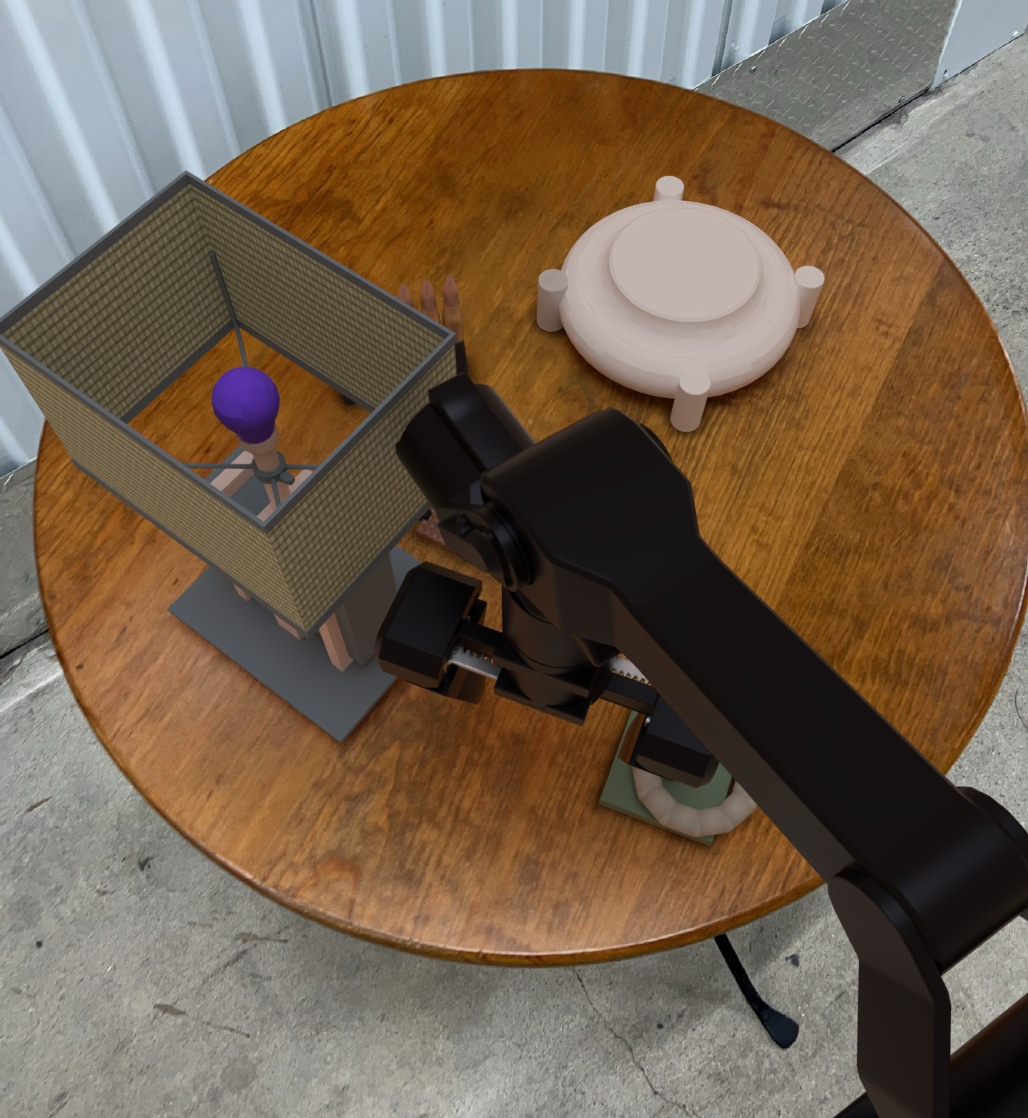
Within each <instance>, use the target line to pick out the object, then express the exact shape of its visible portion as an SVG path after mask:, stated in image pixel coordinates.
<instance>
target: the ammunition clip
mask: <svg viewBox="0 0 1028 1118" xmlns="http://www.w3.org/2000/svg"><path fill="white" fill-rule="evenodd" d="M442 297H443V298H442V299H443V300H442V301H443V303H442V306H443V307H442V312H441V316H440V313H439V309H438V304H437V297H436V294H435V290H434V287H433V285H432V282H430V280H429V279H428V278H426V279H424V281H423V283H422V285H421V289H420V312H421V313H423V314H425V315H426V316H428V317H430V318H431V319H433V320H435V321H436V322H438V323H439V324H441V325H443V326H444V327H446V328H448V329H449V330H451V331H453V332H454V333H456V341H457V343H456V344H455V356H456V371H457V375H458V374H460V373H462V372H465V373H466V374H467V375H468V377H469V378H470V374H469V366H468V359H467V358H468V357H467V351H466V345H465V335H464V320H463V312H462V308H461V303H460V297H459V291H458V286H457V283H456V281H455V279H454V277H453V276H452V275H451V274H448V275H447V276H446V278H445V281H444V284H443V293H442ZM397 298H398V299H400V300H401V301H403V302H405V303H406V304H408V305H410V306H411V307H413V308H415V307H414V300H413V298H412V293H411V291H410V290H409V287H408V286H407V285H406V284H405V283H401V285H400V286H399V288H398V293H397ZM342 399H343V403H344V405H346V406H351V405H355V404H357V403H355V402H354V401H352V400H351V399H349V398H347V397H346V396H344V395H343V394H342Z"/></svg>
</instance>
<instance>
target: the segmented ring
mask: <svg viewBox="0 0 1028 1118" xmlns="http://www.w3.org/2000/svg"><path fill="white" fill-rule="evenodd" d="M631 767H632V766H631ZM632 772H633V777H634V782H635V786H636V791H637V795H638V798H639V799H640V801H641V802H642V803H643V804H644V805H645V807H646V808H647V809H648V810H649V811H650V812H651V813H652V815H653V816H654V817H655V818H656V819H657V820H658V822H659V823H660V824H662V825H663V826H665V827H668V828H671V829H673V830H676V831H679V832H681V833H684V834H687V835H689V836H692V837H703V836H710V835H715V836H717V835H722V834H728V833H730V832H732V831H733V830H734V829H736V828H737V827H738V826H739V825H740V824H742V823H743V822H744V821H745V820H746V819H747V818H748V817H749V816H751V815H752V814H753V813H754V812H755V810H756V809H757V807H758V805H757V804H756V803H755V802H754V801H753V799H752V798H751V797H750V796H749V795H748V794H747V793H746V792H745V790H744V789H743V788H742V787H741V786H740V785H739V784H738V782H737V781H736V780H735V781H734V784H733V788H732V791H731V793H730V794H729V795H727V796H726V799H725V800H724V801H723V802H721V803H720V804H719V805H718V806H714V807H708V808H701V809H695V808H693V807H690V806H687V805H685V804H682V803H679V802H677V801H676V800H675V799H674V798H673V797H672V796H671V794H670V793H669V792H668V791H667V790H666V789H665V788H664V787H663V785H662V781H661V777H659V776H656V775H653V774H651V773H648V772H645V771H643V770H640V769H637V768H635V767H632Z"/></svg>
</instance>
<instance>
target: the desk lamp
mask: <svg viewBox="0 0 1028 1118" xmlns="http://www.w3.org/2000/svg"><path fill="white" fill-rule="evenodd" d="M413 307H414V306H413ZM413 307H411V306H410V305H408V304H406V303H405V302H403V301H401V300H400V299H398V297H397V296H394V295H393V294H392V293H390V292H388V291H387V290H385V289H383V288H382V287H380V286H379V285H377V284H375V283H373V282H372V281H370V280H368V279H367V278H365V277H363V276H361V274H359V273H357V272H355V271H353V270H352V269H350V268H349V267H347V266H346V265H344V264H342V263H341V262H338V260H335V259H334V258H332V257H330V256H328V255H327V254H325V253H324V252H322V251H321V250H319V249H317V248H316V247H315V246H312V245H310V244H308V242H306V241H304V240H302V239H301V238H299V237H297V236H296V235H294V234H292V233H290V232H289V231H287V230H286V229H284V228H283V227H281V226H279V225H277V224H276V223H274V222H272V221H271V220H269V219H268V218H266V217H264V216H262V215H261V214H259V213H258V212H256V211H254V210H253V209H251V208H250V207H248V206H246V205H245V204H243V203H241V202H240V201H238V200H236V199H235V198H233V197H231V196H229V195H228V194H226V193H224V192H223V191H221V190H220V189H218V188H216V187H215V186H213V185H212V184H211V183H208V182H206V181H205V180H203V179H202V178H200V177H198V176H197V175H195V174H194V173H191V172H190V171H188V170H187V169H186V170H184V171H183V172H182V173H180V174H179V175H178V176H177V177H175V179H173V180H172V181H170V182H169V183H168V184H167V185H166V186H164V187H163V188H162V189H160V190H159V191H158V192H157V193H155V194H154V195H153V196H151V197H150V198H149V199H148V200H146V202H144V203H143V204H142V205H140V206H139V207H138V208H136V209H135V210H134V211H133V212H132V213H130V214H129V215H128V216H126V217H125V218H124V219H123V220H121V221H120V222H119V223H118V224H117V225H115V226H114V227H113V228H112V229H110V230H109V231H107V232H106V233H105V234H104V235H103V236H101V237H100V238H99V239H97V240H96V241H95V242H94V243H92V245H90V246H89V247H88V248H86V249H85V250H84V251H83V252H81V253H79V255H77V256H75V258H74V259H73V260H71V261H70V262H69V263H67V264H66V265H65V266H64V267H62V268H61V269H60V270H59V271H57V272H56V273H55V274H54V275H53V276H51V277H50V278H48V279H47V280H46V281H45V282H43V283H42V284H41V285H40V286H39V287H37V288H36V289H35V290H34V291H32V292H31V293H29V295H27V296H26V297H25V298H23V299H22V300H21V301H20V302H19V303H17V304H16V305H15V306H14V307H12V308H11V309H9V310H8V311H7V312H6V313H5V314H4V315H2V316H1V317H0V350H1V351H2V353H3V354H4V356H5V357H6V359H7V360H8V362H9V364H10V366H11V367H12V368H13V370H14V371H15V373H16V374H17V376H18V378H19V379H20V380H21V382H22V384H23V385H24V387H25V388H26V389H27V392H28V393H29V394H30V395H31V398H32V400H33V401H34V403H36V405H37V407H38V408H39V410H40V411H41V413H42V415H43V416H44V417H45V419H46V421H47V422H48V424H49V425H50V427H51V428H52V430H53V432H54V433H55V435H56V436H57V438H58V439H59V441H60V442H61V445H63V447H64V449H65V450H66V451H67V453H68V455H69V456H70V461H71V462H72V464H73V465H74V467H75V468H77V469H78V470H79V471H81V472H82V473H83V474H84V475H86V476H87V477H89V478H90V479H91V480H93V481H94V482H96V483H97V484H98V485H100V486H101V487H102V488H104V489H105V490H106V491H108V492H109V493H110V494H111V495H113V496H114V497H116V498H117V499H118V500H120V501H121V502H123V503H124V504H125V505H127V506H128V507H129V508H130V509H132V510H133V511H134V512H136V513H137V514H139V515H140V516H141V517H142V518H144V519H145V520H146V521H148V522H150V523H151V524H152V525H153V526H155V527H156V528H158V529H159V530H160V531H161V532H163V533H164V534H166V535H167V536H168V537H170V538H171V539H172V540H174V541H175V542H177V543H178V544H179V545H180V546H182V548H184V549H186V550H187V551H188V552H190V553H191V554H193V555H194V556H196V558H198V559H200V560H201V561H202V562H204V563H205V564H206V565H208V566H207V568H206V569H205V570H204V571H203V572H202V573H201V574H200V575H199V576H198V577H197V578H196V579H195V580H194V581H193V582H192V583H190V585H189V586H188V587H187V588H186V589H185V590H184V591H183V592H182V593H181V594H180V595H179V596H178V597H177V598H176V599H175V600H174V601H173V602H172V603H171V604H170V605H169V606H168V607H167V608H166V609H167V611H168V612H169V613H170V614H171V615H172V616H174V617H175V618H177V620H179V621H180V622H181V623H183V624H184V625H186V626H187V627H188V628H190V630H192V631H193V632H194V633H196V634H197V635H198V636H200V637H201V638H202V639H204V640H205V641H206V642H208V643H209V644H210V645H211V646H212V647H214V648H215V649H217V650H218V651H219V652H221V653H222V654H223V655H225V656H226V657H227V658H228V659H230V660H231V661H233V662H234V663H235V664H236V665H237V666H239V667H240V668H241V669H243V670H244V671H245V672H247V673H248V674H249V675H250V676H252V677H253V678H255V680H257V681H259V683H261V684H262V685H263V686H265V687H266V688H267V689H269V690H270V691H272V692H273V693H274V694H275V695H276V696H278V697H279V698H281V699H282V700H283V701H284V702H285V703H287V704H288V705H289V706H290V707H292V708H293V709H295V710H296V711H297V712H299V713H300V714H301V715H302V716H304V717H305V718H306V719H308V720H309V721H310V722H311V723H313V724H314V725H316V727H318V728H320V729H321V730H322V731H323V732H325V733H326V734H327V735H329V736H330V737H331V738H332V739H334V740H335V741H337V742H338V743H339V744H341V745H342V744H343V743H344V742H345V740H346V739H347V738H348V737H349V736H350V735H351V733H352V732H353V731H354V730H355V729H356V728H357V727H358V726H359V724H360V723H361V722H362V720H363V719H364V718H365V717H366V716H367V715H368V714H369V712H370V711H371V710H372V709H373V708H374V707H375V705H376V704H377V703H378V702H379V701H380V700H381V699H382V698H383V696H384V695H385V694H386V693H387V692H388V690H389V689H390V688H391V687H392V686H393V685H394V684H395V683H396V681H397V680H398V679H399V677H396V676H393V675H391V674H388V673H385V672H383V671H382V670H381V667H380V665H379V662H378V660H377V657H376V653H375V649H374V645H375V641H376V637H377V633H378V631H379V629H380V627H381V625H382V623H383V621H384V619H385V617H386V615H387V613H388V610H389V608H390V606H391V604H392V602H393V600H394V598H395V596H396V594H397V592H398V590H399V588H400V586H401V584H402V582H403V580H404V578H405V576H406V574H407V572H408V571H409V570H411V569H412V568H413V567H415V566H417V565H419V564H421V563H423V562H422V561H420V560H418V559H417V558H416V557H414V556H413V555H411V554H410V553H408V552H407V551H405V550H404V549H403V548H402V547H399V546H398V544H399V543H400V542H401V540H402V539H404V537H405V536H406V535H407V534H408V533H409V532H410V531H411V530H412V529H413V527H414V526H415V525H416V524H417V523H418V522H420V521H419V519H420V518H421V517H422V516H423V515H424V514H425V513H426V512H427V511H428V510H430V509H431V508H432V506H431V504H430V503H429V501H428V500H427V499H426V497H425V496H424V494H423V493H422V492H421V490H420V489H419V487H418V486H417V484H416V483H415V482H414V480H413V479H412V477H411V476H410V475H409V473H408V472H407V470H406V469H405V468H404V466H403V465H402V463H401V462H400V461H399V459H398V457H397V454H396V448H395V446H396V444H397V443H398V442H399V441H400V438H401V436H402V434H403V432H404V430H405V428H406V427H407V425H408V424H409V423H410V422H411V420H412V419H413V418H414V416H415V415H416V414H417V413H419V412H420V411H421V410H422V409H423V408H424V407H425V406H426V405H427V404H428V403H429V396H428V390H429V389H431V388H432V387H434V386H436V385H438V384H440V383H442V382H444V381H446V380H448V379H450V378H452V377H454V376H456V375H457V371H456V356H455V344H456V343H457V341H456V333H454V332H453V331H451V330H449V329H448V328H446V327H444V326H443V324H442V323H441V324H439V323H438V322H436V321H435V320H433V319H431V318H430V317H428V316H426V315H425V314H423V313H421V310H420V311H419V310H418V309H416V308H415V307H414V308H413ZM233 330H234V333H235V336H236V339H237V343H238V348H239V353H240V357H241V361H242V366H238V367H233V368H230V369H229V370H227V371H226V372H224V373H223V374H222V375H221V376H220V377H219V379H218V380H216V382H215V384H214V385H213V388H212V392H211V396H210V397H211V406H212V410H213V415H214V416H215V417H216V418H217V420H218V421H219V422H220V423H221V424H222V425H223V426H224V427H225V428H226V429H227V430H229V431H231V432H233V433H234V434H236V438H237V441H238V443H239V445H238V446H237V447H236V448H235V449H234V450H233V451H232V452H231V453H230V454H229V455H228V456H227V457H226V458H225V459H224V460H222V461H221V463H209V462H208V463H205V462H204V463H202V462H181V461H180V460H178V459H177V458H175V457H173V455H171V454H169V453H168V452H166V451H165V450H164V449H162V447H159V446H158V445H157V444H155V443H154V442H153V441H151V440H150V439H148V438H147V437H145V436H144V435H142V434H141V433H140V432H138V431H137V430H135V429H134V428H133V427H131V426H130V425H128V424H129V423H130V422H131V421H132V420H134V419H135V418H136V417H137V416H138V415H139V414H140V413H142V412H143V411H144V410H145V409H146V408H147V407H148V406H149V405H151V403H153V402H154V401H155V400H156V399H157V398H158V397H159V396H161V395H162V394H163V393H165V391H166V390H167V389H168V388H169V387H171V386H172V385H173V384H174V383H175V382H176V381H177V380H178V379H180V378H181V377H182V376H184V374H185V373H186V372H188V370H190V369H191V368H192V367H193V366H194V365H195V364H196V363H197V362H198V361H199V360H201V359H202V358H203V357H204V356H205V355H206V354H208V353H209V352H210V351H211V350H212V349H213V348H214V347H215V346H216V345H218V343H220V342H221V341H222V340H223V339H224V338H225V337H227V336H228V334H230V333H231V332H232V331H233ZM241 330H243V331H244V332H246V333H247V334H249V335H251V336H252V337H253V338H255V339H256V340H257V341H259V342H261V343H263V344H264V345H266V346H267V347H268V348H271V349H272V350H273V351H275V352H276V353H278V354H280V355H281V356H283V357H284V358H286V359H288V360H289V361H290V362H292V363H294V365H296V366H298V367H300V368H301V369H303V370H304V371H306V372H307V373H309V374H310V375H312V376H313V377H315V378H316V379H318V380H319V381H321V382H323V383H324V384H326V385H328V386H329V387H331V388H332V389H333V390H335V391H337V392H338V393H339V394H341V395H342V396H343V395H344V396H346V397H347V398H349V399H351V400H352V401H354V402H355V403H356V404H357V405H358V406H359V407H361V408H362V409H364V410H366V411H367V412H369V413H370V414H369V415H368V416H367V417H366V418H364V420H363V421H362V422H361V423H360V424H359V425H358V426H357V427H355V429H354V430H353V431H352V432H351V433H350V434H349V435H348V436H347V437H346V438H345V439H344V440H343V441H342V442H341V443H340V444H339V445H338V446H337V447H336V448H335V449H334V450H333V451H332V452H331V453H330V454H329V455H328V456H327V457H326V458H325V459H324V460H323V461H322V462H321V463H320V464H296V463H295V464H294V463H293V464H289V463H287V462H286V459H285V455H284V454H282V452H281V451H279V450H277V449H276V445H277V444H278V443H279V439H280V432H279V429H278V425H277V423H276V419H277V418H278V414H279V410H280V405H281V397H280V393H279V389H278V386H277V385H276V384H275V382H274V381H273V380H272V378H271V377H270V376H269V375H268V374H267V373H266V372H264V371H262V370H259V369H257V368H254V367H250V366H249V363H248V362H249V361H248V359H247V354H246V350H245V346H244V341H243V337H242V332H241ZM192 469H213V470H212V471H211V472H210V473H209V474H208V475H207V476H206V477H205V478H203V477H201V475H199V474H197V473H196V472H194V471H193V470H192ZM289 470H301V472H299V473H298V474H297V475H296V476H295V477H294V476H293V474H291V472H290V471H289Z"/></svg>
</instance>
